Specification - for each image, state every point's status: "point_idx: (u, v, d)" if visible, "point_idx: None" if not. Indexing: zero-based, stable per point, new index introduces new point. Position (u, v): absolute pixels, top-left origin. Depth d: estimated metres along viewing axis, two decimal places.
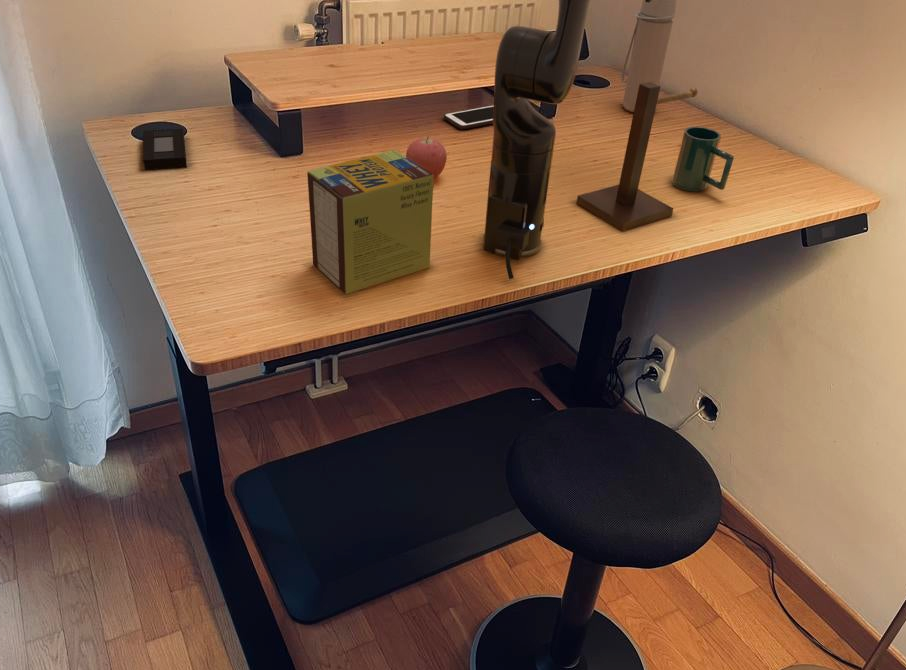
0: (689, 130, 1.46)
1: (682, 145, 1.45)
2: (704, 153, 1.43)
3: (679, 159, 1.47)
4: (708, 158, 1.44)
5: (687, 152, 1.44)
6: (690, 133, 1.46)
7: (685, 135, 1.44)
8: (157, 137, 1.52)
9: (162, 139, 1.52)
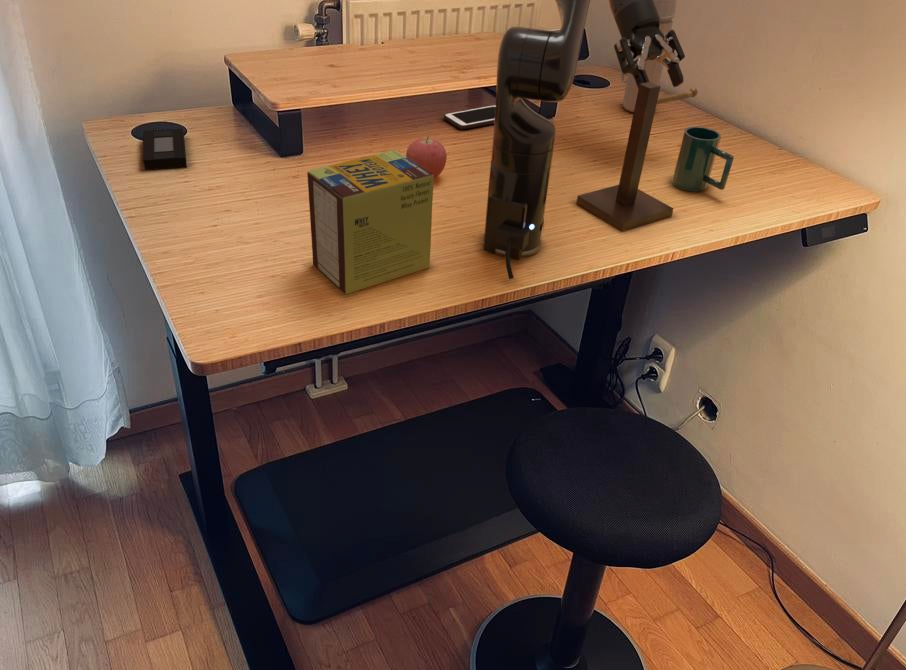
0: (689, 130, 1.46)
1: (682, 145, 1.45)
2: (704, 153, 1.43)
3: (679, 159, 1.47)
4: (708, 158, 1.44)
5: (687, 152, 1.44)
6: (690, 133, 1.46)
7: (685, 135, 1.44)
8: (157, 137, 1.52)
9: (162, 139, 1.52)
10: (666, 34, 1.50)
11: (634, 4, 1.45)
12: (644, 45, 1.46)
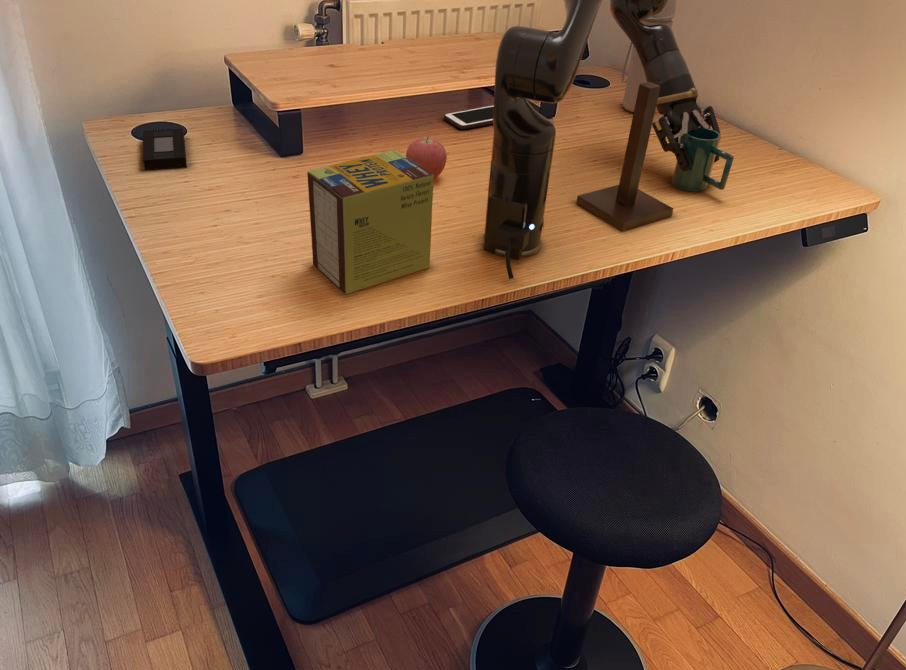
0: None
1: None
2: (704, 153, 1.43)
3: None
4: (708, 158, 1.44)
5: None
6: (690, 133, 1.46)
7: (685, 135, 1.44)
8: (157, 137, 1.52)
9: (162, 139, 1.52)
10: (704, 110, 1.48)
11: (672, 80, 1.43)
12: (683, 122, 1.44)
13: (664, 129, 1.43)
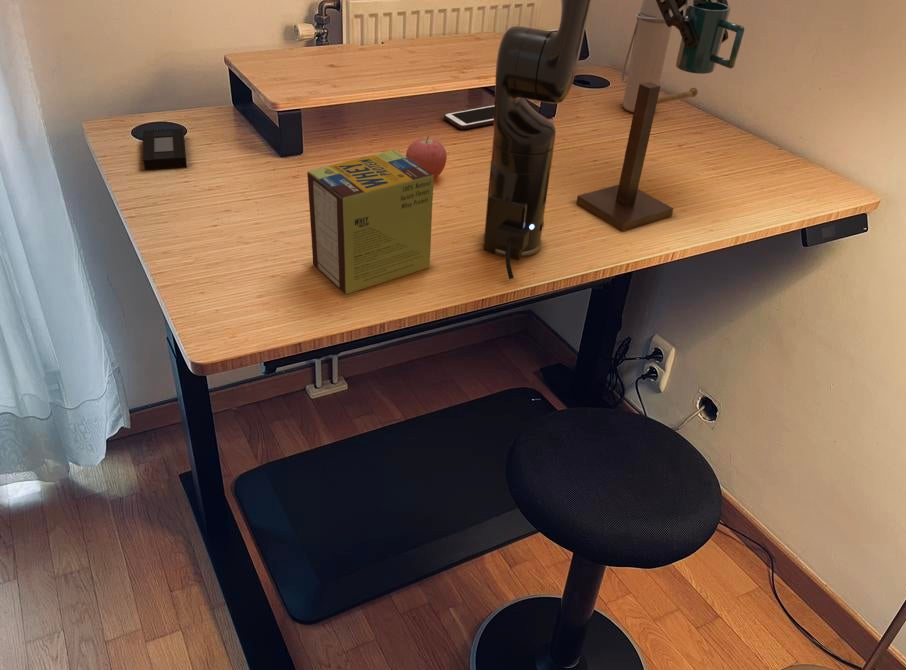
0: None
1: None
2: (712, 26, 1.29)
3: None
4: (716, 33, 1.30)
5: None
6: None
7: (691, 7, 1.30)
8: (157, 137, 1.52)
9: (162, 139, 1.52)
10: None
11: None
12: None
13: None
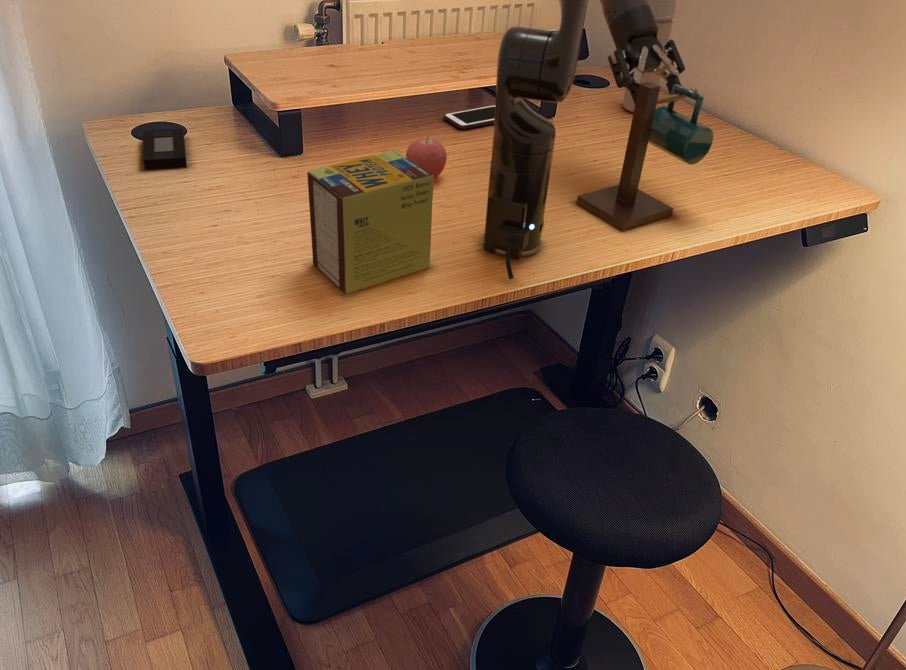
0: None
1: (652, 140, 1.37)
2: (664, 115, 1.34)
3: (663, 145, 1.35)
4: (673, 114, 1.34)
5: (655, 132, 1.35)
6: None
7: None
8: (157, 137, 1.52)
9: (162, 139, 1.52)
10: (665, 44, 1.38)
11: (630, 12, 1.33)
12: (641, 57, 1.34)
13: (619, 62, 1.32)
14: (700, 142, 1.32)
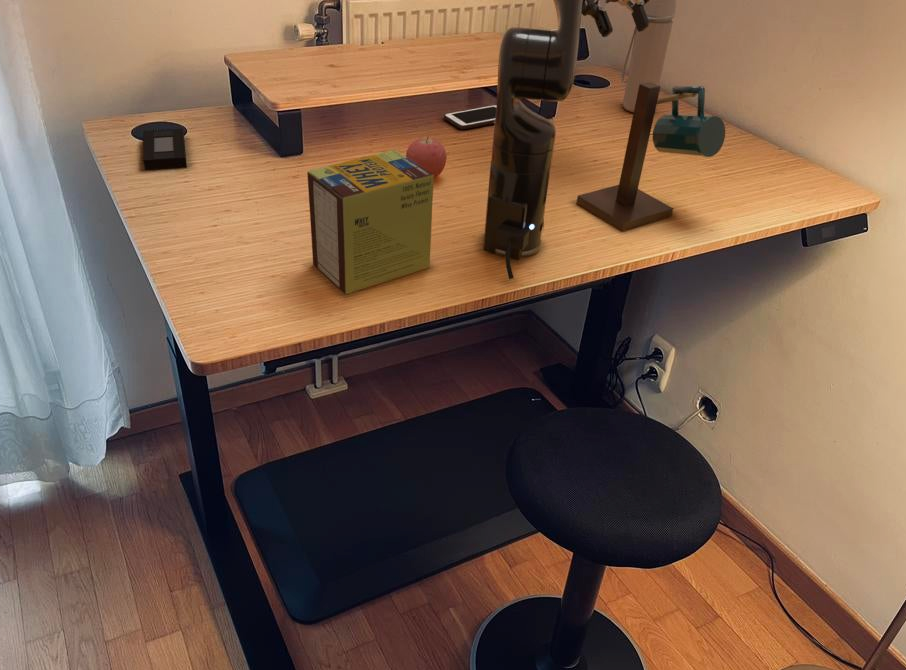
0: None
1: (664, 145, 1.35)
2: (670, 118, 1.33)
3: (675, 145, 1.33)
4: (679, 115, 1.33)
5: (665, 135, 1.33)
6: None
7: (655, 144, 1.36)
8: (157, 137, 1.52)
9: (162, 139, 1.52)
10: None
11: None
12: None
13: None
14: (712, 132, 1.29)
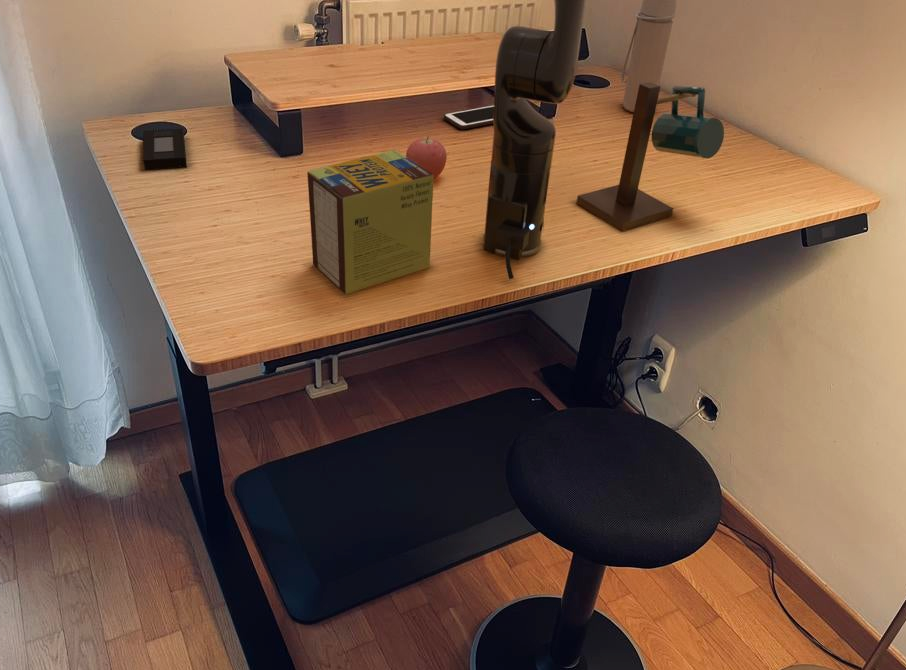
0: None
1: (662, 145, 1.35)
2: (669, 118, 1.33)
3: (674, 146, 1.33)
4: (678, 116, 1.33)
5: (664, 135, 1.34)
6: None
7: (653, 143, 1.36)
8: (157, 137, 1.52)
9: (162, 139, 1.52)
10: None
11: None
12: None
13: None
14: (711, 134, 1.29)
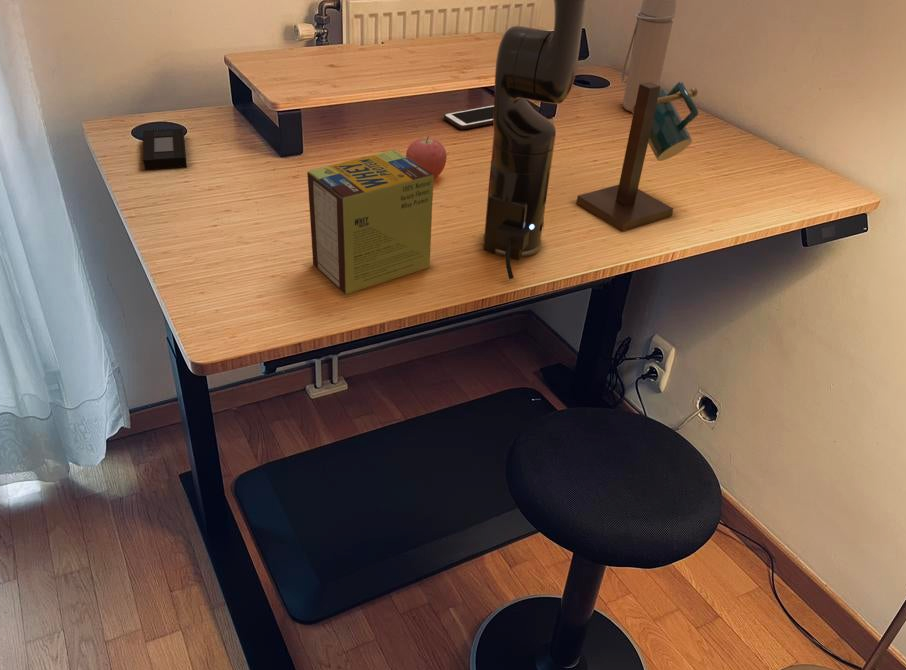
0: None
1: None
2: (658, 104, 1.35)
3: None
4: (666, 108, 1.35)
5: None
6: None
7: (633, 110, 1.38)
8: (157, 137, 1.52)
9: (162, 139, 1.52)
10: None
11: None
12: None
13: None
14: (676, 148, 1.36)
